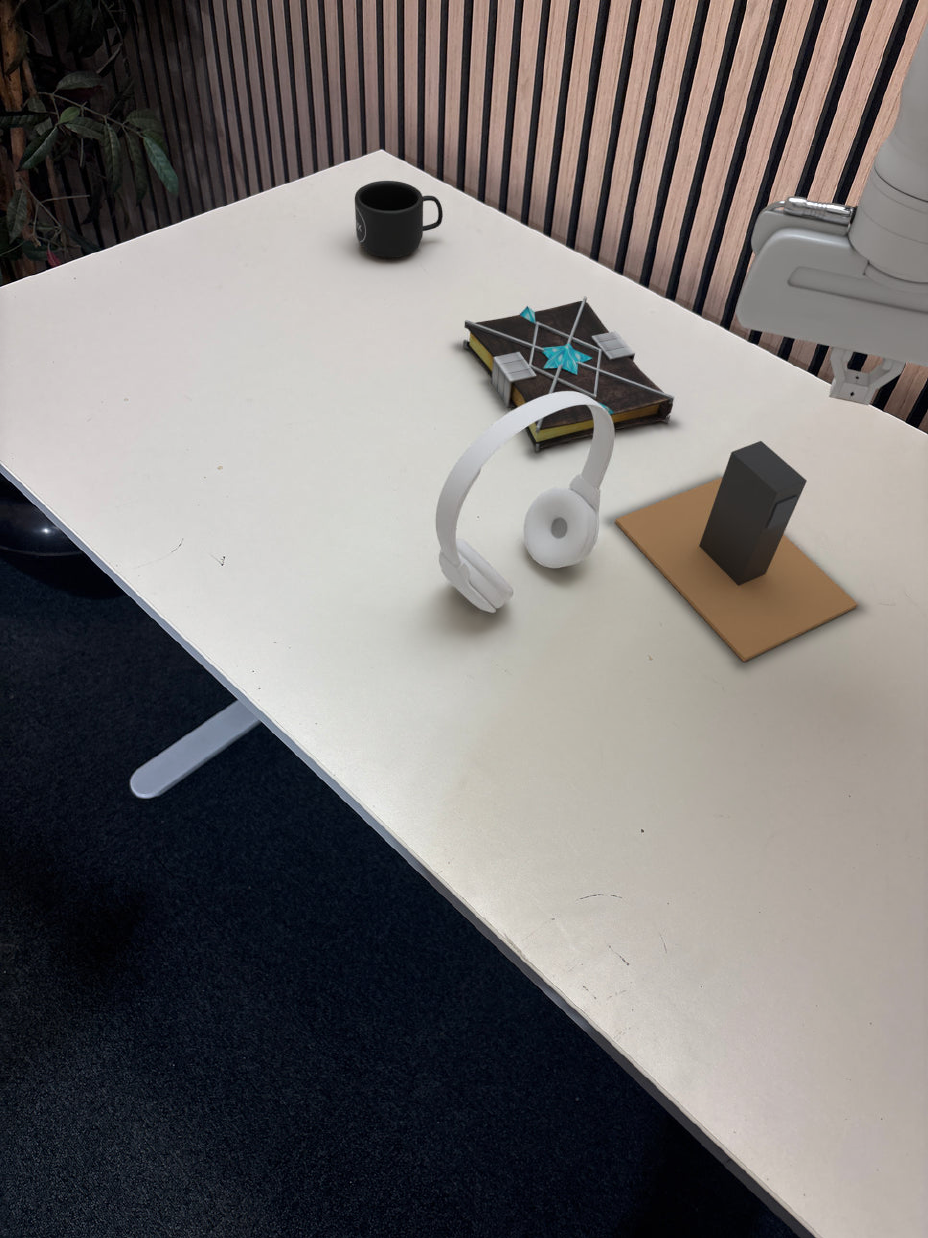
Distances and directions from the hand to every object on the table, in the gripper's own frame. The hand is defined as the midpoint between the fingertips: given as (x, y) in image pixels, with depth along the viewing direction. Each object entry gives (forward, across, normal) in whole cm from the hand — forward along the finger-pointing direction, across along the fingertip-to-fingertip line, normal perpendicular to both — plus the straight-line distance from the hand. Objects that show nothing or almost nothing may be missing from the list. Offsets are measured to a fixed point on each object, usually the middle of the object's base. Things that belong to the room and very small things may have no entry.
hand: (848, 397), depth 70 cm
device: (+22, -4, +3) cm, 23 cm away
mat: (+23, -3, +3) cm, 23 cm away
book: (+23, -27, +25) cm, 43 cm away
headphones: (+23, -23, -7) cm, 33 cm away
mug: (+22, -56, +47) cm, 76 cm away
